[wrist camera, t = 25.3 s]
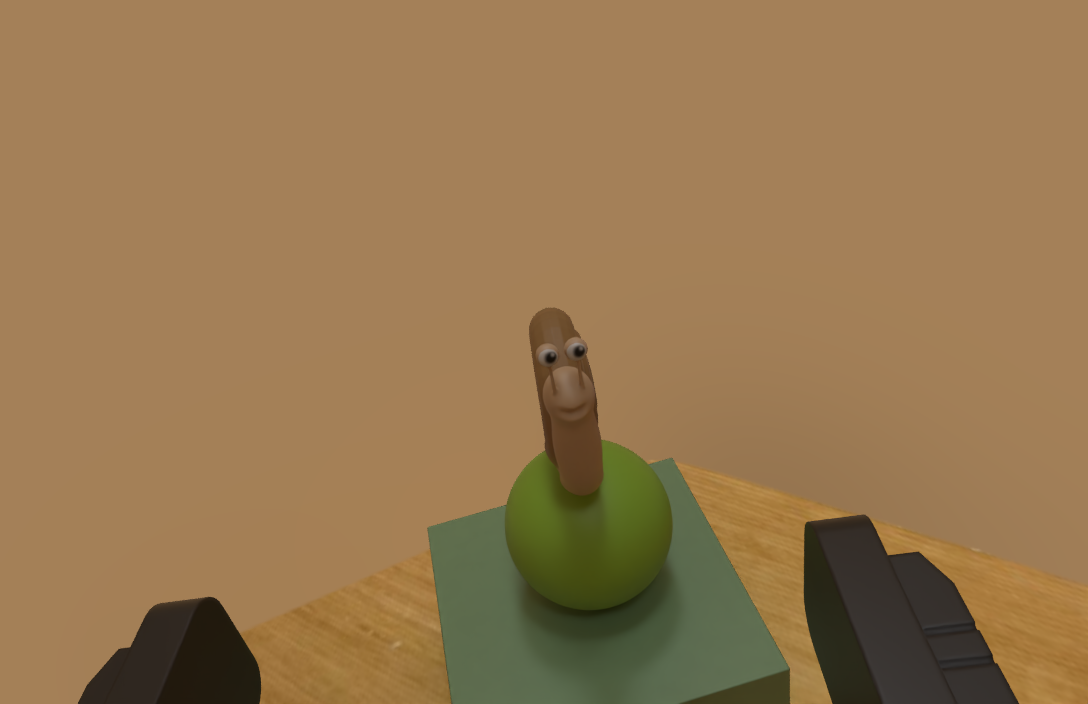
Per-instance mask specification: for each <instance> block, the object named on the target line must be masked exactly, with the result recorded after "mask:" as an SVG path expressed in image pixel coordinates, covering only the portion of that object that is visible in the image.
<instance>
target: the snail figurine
mask: <svg viewBox="0 0 1088 704" xmlns="http://www.w3.org/2000/svg"><path fill="white" fill-rule="evenodd" d="M529 335H530V344H531V351H532V358H533V365H534V372H535V377H536V384H537V391H538V397H539V402H540V409H541V415H542V421H543V429H544V436H545V451H544V452H542V453H540V454H539V455H538V456H536V457H535V458H534V459H533V460H532V461H531V462H530V463H529V464H528V465H527V466H526V467H525V468H524V469H523V471H522V472H521V474H520V475H519V476H518V478H517V479H516V481H515V483H514V485H513V487H512V489H511V492H510V495H509V498H508V501H507V505H506V511H505V536H506V542H507V546H508V549H509V552H510V555H511V558H512V560H513V562H514V564H515V566H516V568H517V569H518V571H519V572H520V574H521V575H522V577H523V578H524V579H525V580H526V581H527V583H528V584H529V585H530V586H531V587H532V588H534V589H535V590H536V591H537V592H538V593H540V594H541V595H542V596H544V597H545V598H547V599H549V600H551V601H553V602H555V603H557V604H559V605H562V606H565V607H569V608H573V609H579V610H600V609H606V608H611V607H614V606H617V605H620V604H622V603H624V602H626V601H628V600H630V599H632V598H633V597H635V596H637V595H638V594H639V593H641V592H642V591H643V590H644V589H645V588H646V587H647V586H648V585H649V584H650V583H651V582H652V581H653V580H654V578H655V577H656V576H657V574H658V573H659V571H660V570H661V568H662V566H663V564H664V562H665V560H666V558H667V555H668V552H669V549H670V545H671V540H672V531H673V519H672V511H671V506H670V502H669V498H668V496H667V493H666V491H665V488H664V486H663V484H662V482H661V481H660V479H659V477H658V476H657V475H656V473H655V472H654V471H653V469H652V468H651V467H650V466H649V465H648V464H647V463H646V462H645V461H644V460H643V459H642V458H641V457H639V456H638V455H637V454H635V453H634V452H632V451H630V450H629V449H627V448H625V447H623V446H621V445H618V444H616V443H613V442H610V441H605V440H601V436H600V432H599V427H598V414H597V399H596V393H595V388H594V382H593V377H592V373H591V369H590V365H589V362H588V359H587V356H586V354H587V349H588V348H587V344H586V342H585V341H584V340H582V339H581V337H580V335H579V333H578V332H577V331H576V330H575V329H574V326H573V324H572V321H571V319H570V317H569V316H568V315H567V314H566V313H565V312H564V311H562V310H560V309H557V308H545V309H543V310H541V311H539V312H538V313H537V314H536V315H535V316H534V317H533V318H532V320H531V323H530V326H529Z"/></svg>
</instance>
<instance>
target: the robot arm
mask: <svg viewBox="0 0 1088 704" xmlns="http://www.w3.org/2000/svg"><path fill="white" fill-rule="evenodd" d="M804 604H805V611H806V617H807V623H808V627H809V632H810V636H811V639H812V643H813V646H814V649H815V652H816V655H817V658H818V661H819V664H820V667H821V670H822V673H823V676H824V679H825V682H826V685H827V688H828V691H829V694H830V697H831V700H832V703H833V704H1019V703H1018V701H1017V699H1016V697H1015V695H1014V693H1013V692H1012V690H1011V688H1010V686H1009V684H1008V682H1007V680H1006V679H1005V677H1004V675H1003V673H1002V671H1001V669H1000V668H999V666H998V664H997V663H996V664H995V662H994V660H993V655H992V653H991V651H990V649H989V647H988V645H987V643H986V642H985V640H984V638H983V636H982V634H981V632H980V630H977V629H976V626H975V621H974V619H973V618H972V616H971V614H970V612H969V610H968V608H967V606H966V605H965V603H964V601H963V599H962V597H961V595H960V593H959V592H958V590H957V588H956V586H955V584H954V583H953V582H952V581H951V580H950V579H949V578H948V577H946V576H945V575H944V574H943V573H942V572H941V571H940V570H939V569H937V568H936V567H935V566H934V565H933V564H932V563H931V562H930V561H928V560H927V559H926V558H925V557H924V556H923V555H922V554H921V553H919V552H912V553H904V554H896V555H887V553H886V551H885V548H884V546H883V544H882V542H881V540H880V538H879V536H878V534H877V531H876V529H875V527H874V525H873V523H872V522H871V520H870V519H869V518H868V517H867V516H866V515H857V516H849V517H842V518H834V519H826V520H818V521H811V522H807V523H806V524H805V532H804ZM260 695H261V677H260V671H259V667H258V664H257V661H256V660H255V658H254V656H253V654H252V653H251V651H250V650H249V648H248V646H247V645H246V643H245V642H244V640H243V638H242V637H241V635H240V633H239V632H238V630H237V629H236V627H235V625H234V624H233V622H232V621H231V619H230V617H229V616H228V614H227V613H226V611H225V609H224V608H223V606H222V605H221V604H220V602H219V601H218V600H217V599H215V598H213V597H205V598H198V599H190V600H182V601H175V602H168V603H160V604H157V605H155V606H153V607H152V608H151V609H150V610H149V612H148V613H147V615H146V616H145V618H144V620H143V622H142V624H141V626H140V628H139V630H138V632H137V635H136V637H135V639H134V641H133V643H132V645H131V647H130V648H122V649H118V651H117V652H116V653H115V654H114V655H113V656H112V657H111V658H110V660H109V661H108V662H107V663H106V664H105V665H104V667H103V668H102V669H101V670H100V671H99V672H98V673H97V675H96V676H95V677H94V678H93V679H92V680H91V681H90V682H89V684H88V685H87V686H86V688H85V690H84V692H83V694H82V696H81V698H80V700H79V702H78V704H259V702H260Z"/></svg>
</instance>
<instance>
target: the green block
mask: <svg viewBox="0 0 1088 704" xmlns="http://www.w3.org/2000/svg"><path fill="white" fill-rule="evenodd" d="M648 465H649V466H650V467H651V468H652V469H653V471H654V472H655V473H656V475H657V476H658V477H659V479H660V481H661V482H662V484H663V486H664V488H665V491H666V493H667V496H668V498H669V502H670V506H671V511H672V519H673V531H672V540H671V545H670V549H669V552H668V555H667V558H666V560H665V562H664V564H663V566H662V568H661V570H660V571H659V573H658V574H657V576H656V577H655V578H654V580H653V581H652V582H651V583H650V584H649V585H648V586H647V587H646V588H645V589H644V590H643V591H642V592H641V593H639V594H638V595H637V596H635V597H633V598H632V599H630V600H628V601H626V602H624V603H622V604H620V605H617V606H614V607H611V608H606V609H600V610H579V609H573V608H569V607H565V606H562V605H559V604H557V603H555V602H553V601H551V600H549V599H547V598H545V597H544V596H542V595H541V594H540V593H538V592H537V591H536V590H535V589H534V588H532V587H531V586H530V585H529V584H528V583H527V581H526V580H525V579H524V578H523V577H522V575H521V574H520V572H519V571H518V569H517V568H516V566H515V564H514V562H513V560H512V558H511V555H510V552H509V549H508V546H507V542H506V536H505V511H506V505H504V506H501V507H497V508H494V509H490V510H487V511H483V512H480V513H476V514H473V515H469V516H466V517H462V518H459V519H455V520H452V521H448V522H445V523H441V524H437V525H434V526H431V527H428V535H429V542H430V550H431V558H432V565H433V572H434V579H435V587H436V594H437V601H438V609H439V616H440V623H441V630H442V638H443V645H444V652H445V659H446V667H447V674H448V681H449V689H450V696H451V703H452V704H790V668H789V666H788V665H787V663H786V661H785V659H784V657H783V656H782V654H781V652H780V650H779V648H778V647H777V645H776V643H775V641H774V639H773V638H772V636H771V634H770V632H769V630H768V629H767V627H766V625H765V623H764V622H763V620H762V618H761V616H760V614H759V613H758V611H757V609H756V607H755V605H754V604H753V602H752V600H751V598H750V596H749V595H748V593H747V591H746V589H745V587H744V586H743V584H742V582H741V580H740V578H739V577H738V575H737V573H736V571H735V569H734V568H733V566H732V564H731V562H730V561H729V559H728V557H727V555H726V553H725V552H724V550H723V548H722V546H721V544H720V543H719V541H718V539H717V537H716V535H715V534H714V532H713V530H712V528H711V526H710V525H709V523H708V521H707V519H706V517H705V516H704V514H703V512H702V510H701V508H700V507H699V505H698V503H697V501H696V499H695V498H694V496H693V494H692V492H691V491H690V489H689V487H688V485H687V483H686V482H685V480H684V478H683V476H682V474H681V473H680V471H679V469H678V467H677V465H676V464H675V462H674V460H673V458H669V459H666V460H662V461H659V462H655V463H652V464H648Z"/></svg>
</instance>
